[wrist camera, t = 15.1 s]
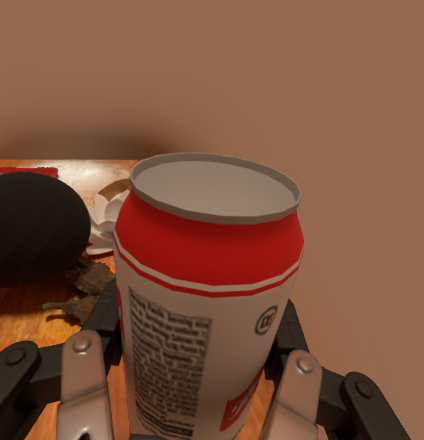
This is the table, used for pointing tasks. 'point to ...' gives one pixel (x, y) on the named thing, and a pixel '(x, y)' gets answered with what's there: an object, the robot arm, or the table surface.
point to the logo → (31, 170)
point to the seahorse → (84, 287)
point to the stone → (115, 189)
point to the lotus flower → (104, 222)
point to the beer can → (202, 288)
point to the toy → (39, 228)
